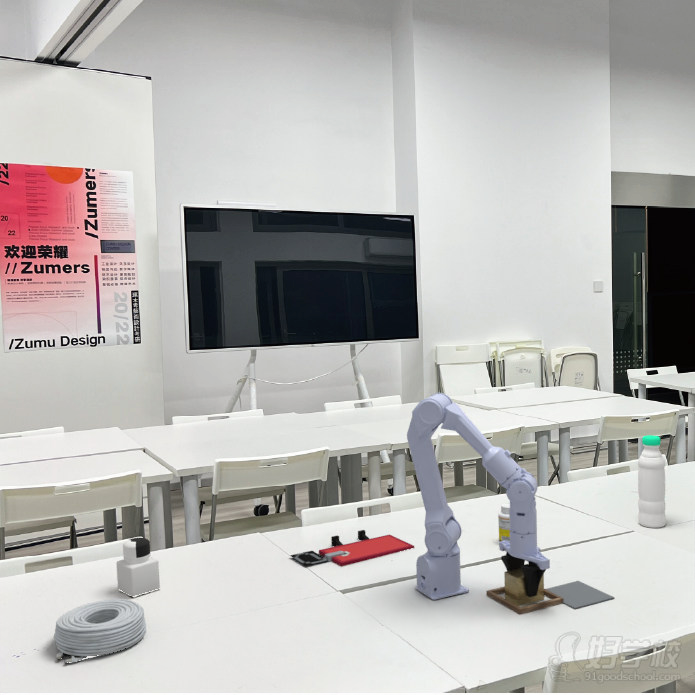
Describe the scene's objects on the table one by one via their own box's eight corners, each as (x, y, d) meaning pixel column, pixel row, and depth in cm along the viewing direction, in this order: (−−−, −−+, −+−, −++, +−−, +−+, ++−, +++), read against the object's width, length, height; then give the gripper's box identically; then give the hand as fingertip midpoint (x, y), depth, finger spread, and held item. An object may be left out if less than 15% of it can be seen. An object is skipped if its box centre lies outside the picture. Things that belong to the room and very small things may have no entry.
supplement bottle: (516, 539, 205) (515, 501, 204) (523, 545, 199) (522, 507, 198) (496, 540, 204) (495, 503, 203) (502, 547, 198) (501, 508, 198)
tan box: (518, 606, 161) (517, 578, 161) (504, 598, 165) (504, 571, 165) (544, 599, 164) (543, 572, 164) (530, 592, 168) (530, 565, 168)
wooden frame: (520, 614, 157) (519, 609, 157) (486, 595, 168) (486, 590, 168) (563, 602, 162) (563, 598, 162) (528, 584, 173) (528, 580, 173)
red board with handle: (286, 556, 197) (315, 574, 185) (286, 546, 197) (315, 563, 184) (381, 535, 213) (414, 551, 200) (381, 525, 213) (414, 540, 200)
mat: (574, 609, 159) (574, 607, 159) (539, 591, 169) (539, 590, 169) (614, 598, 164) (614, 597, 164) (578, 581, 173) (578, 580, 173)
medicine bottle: (144, 582, 183) (142, 533, 182) (160, 589, 178) (157, 539, 177) (117, 591, 178) (114, 540, 177) (132, 599, 173) (129, 547, 172)
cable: (56, 670, 141) (54, 638, 140) (52, 632, 157) (50, 604, 156) (152, 649, 148) (151, 619, 147) (139, 616, 164) (138, 588, 163)
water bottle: (667, 522, 214) (667, 434, 212) (663, 529, 208) (662, 439, 206) (641, 519, 218) (640, 433, 216) (635, 526, 212) (635, 437, 210)
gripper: (560, 536, 159) (561, 599, 160) (516, 518, 172) (517, 577, 173) (533, 542, 156) (535, 606, 157) (491, 523, 169) (492, 583, 170)
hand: (524, 591), depth 165 cm, fingers closed on tan box, 4 cm apart
